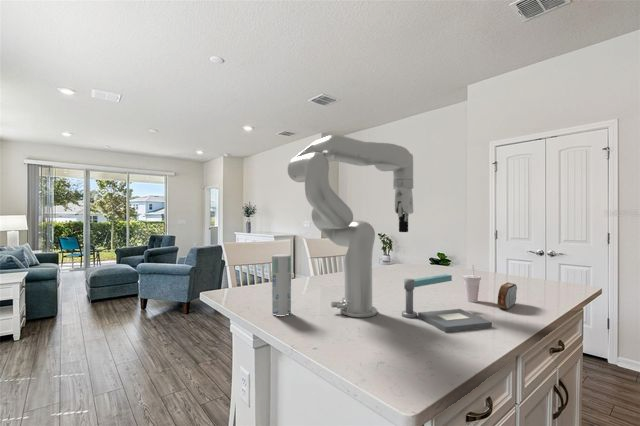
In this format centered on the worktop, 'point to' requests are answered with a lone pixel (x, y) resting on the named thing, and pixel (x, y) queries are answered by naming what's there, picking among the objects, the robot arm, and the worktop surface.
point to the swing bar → (426, 281)
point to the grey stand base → (446, 317)
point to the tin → (507, 295)
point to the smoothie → (472, 286)
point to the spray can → (281, 284)
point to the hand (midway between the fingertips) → (403, 231)
